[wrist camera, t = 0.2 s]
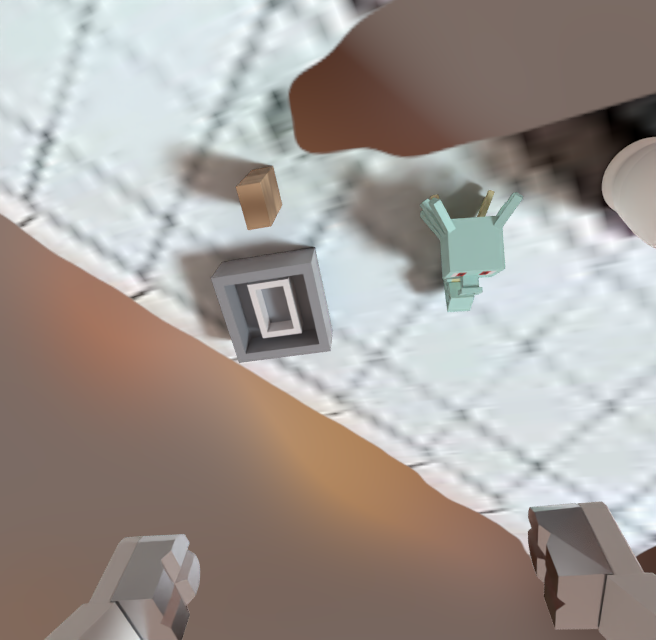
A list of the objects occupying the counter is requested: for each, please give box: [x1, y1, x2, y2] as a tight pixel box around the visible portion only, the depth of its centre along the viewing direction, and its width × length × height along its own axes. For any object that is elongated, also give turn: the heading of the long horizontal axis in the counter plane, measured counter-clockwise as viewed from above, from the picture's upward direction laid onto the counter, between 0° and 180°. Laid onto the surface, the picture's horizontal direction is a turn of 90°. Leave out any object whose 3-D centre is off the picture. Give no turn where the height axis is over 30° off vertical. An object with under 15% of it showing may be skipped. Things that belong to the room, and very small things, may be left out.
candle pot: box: [211, 247, 333, 363], centre depth 59 cm, size 12×12×5 cm
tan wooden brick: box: [236, 166, 282, 230], centre depth 51 cm, size 4×2×8 cm, turn 11°
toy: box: [420, 190, 523, 312], centre depth 51 cm, size 10×13×15 cm
